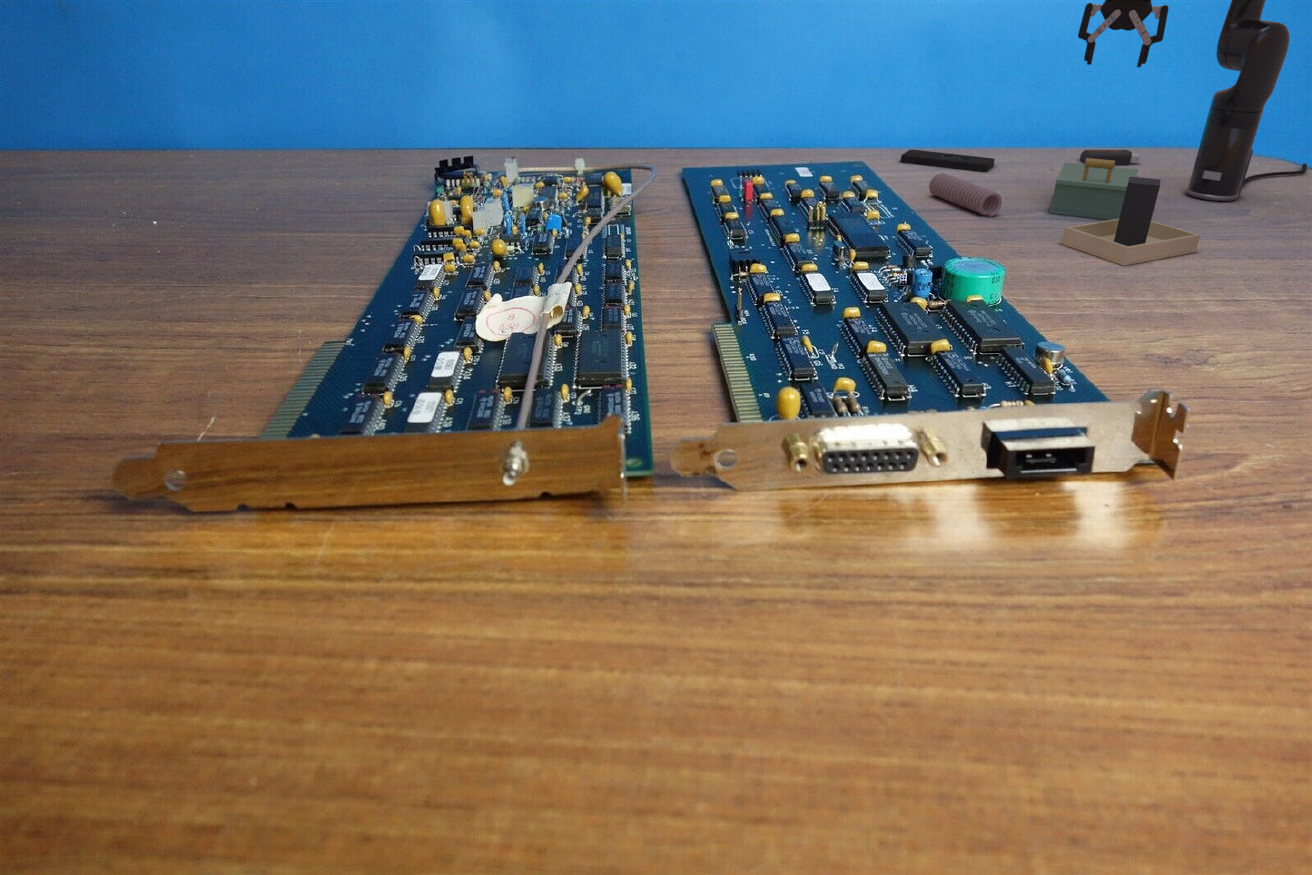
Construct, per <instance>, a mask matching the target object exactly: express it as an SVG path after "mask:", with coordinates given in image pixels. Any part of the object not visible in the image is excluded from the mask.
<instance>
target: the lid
mask: <svg viewBox="0 0 1312 875" xmlns="http://www.w3.org/2000/svg"><path fill="white" fill-rule="evenodd" d="M1114 164H1115V161H1114V160H1103V159H1092V158H1086V161H1085V163H1075V162H1064V163H1063V165H1062V167H1061V169H1060V171H1059V174H1058V176H1057V177H1056V179H1055V185H1056V184H1063V185H1072V186H1082V187H1092V188H1102V189H1111V190H1121V191H1126V189H1127V185H1128V181H1129V177H1138V171H1139V169H1138V168H1129V167H1128V168H1127V167H1117V166H1115V165H1114Z"/></svg>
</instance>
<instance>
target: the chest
mask: <svg viewBox="0 0 1312 875" xmlns="http://www.w3.org/2000/svg"><path fill="white" fill-rule="evenodd" d="M1125 193H1126V191H1121V190H1111V189H1102V188H1092V187H1082V186H1072V185H1063V184H1056V183H1055V185H1054V191H1053V196H1052V201H1051V205H1050V210H1049V214H1055V215H1064V216H1072V217H1081V218H1091V219H1098V220H1099V219H1100V220H1106V221H1107V220H1113V219H1119V218H1120V213H1121V209H1122V205H1123V201H1124V197H1125Z"/></svg>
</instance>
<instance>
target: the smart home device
mask: <svg viewBox="0 0 1312 875" xmlns="http://www.w3.org/2000/svg"><path fill="white" fill-rule="evenodd" d="M995 160H996V159H995V158H992V157H984V156H976V155H966V154H957V153H949V152H940V151H939V152H938V151H931V150H921V149H908V150H907V151H905V152H904V153H902V154H901V156H900V163H903V164H904V163H905V164H913V165H922V166H931V167H938V168H940V167H941V168H948V169H957V170H958V169H959V170H964V171H965V170H967V171H975V172H984V173H985V172H989V170H990V169H991V168H993V167H994V166H995Z"/></svg>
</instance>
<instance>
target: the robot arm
mask: <svg viewBox="0 0 1312 875" xmlns="http://www.w3.org/2000/svg"><path fill="white" fill-rule="evenodd" d="M1266 1H1267V0H1231V2H1230V5H1229V7H1228V10H1227V13H1226V16H1225V18H1224V21H1223V24H1222V27H1221V29H1220V33H1219V36H1218V40H1217V44H1216V53H1215V54H1216V61H1217V63H1218V65H1219V66H1220V67H1221V68H1223V69H1225V70H1229V71H1235V72H1239V75H1238V77H1237V79H1236V82H1235V83H1234V84H1233V85H1231V86H1230V87H1228V88H1226V89H1221V90H1218V91H1216V92H1215V93H1214V94H1213V96H1212V98H1211V102H1210V107H1209V109H1208V112H1207V117H1206V120H1205V124H1204V128H1203V132H1202V135H1201V139H1200V142H1199V145H1198V149H1197V152H1196V157H1195V161H1194V165H1193V168H1192V171H1191V175H1190V177H1189V181H1188V186H1187V188H1186V192H1185V193H1186V195H1188V196H1189V197H1193V198H1196V199H1200V200H1206V201H1214V202H1231V201H1236V200H1238V198H1239V197H1240V196H1241V193H1242V190H1243V188H1244V186H1246V184H1247V182H1249V181H1251V180H1255V179H1259V178H1266V177H1274V176H1295V175H1302V174H1304V173H1305V172H1307V169H1308V164H1307V163H1303V164H1302V165H1301V169H1300V170H1290V171H1289V170H1288V171H1273V172H1272V171H1271V172H1265V173H1258V174H1253V175H1249V176H1247V173H1248V170H1249V166H1250V163H1251V159H1252V156H1253V154H1254V150H1253V147H1254V142H1255V140H1256V135H1257V133H1258V129H1259V126H1260V123H1261V119H1262V115H1263V112H1264V110H1265V107H1266V104H1267V102H1268V101H1269V99H1270V98H1271V96H1272V94H1273V92H1274V90H1275V88H1276V85H1277V83H1278V80H1279V77H1280V74H1281V71H1282V68H1283V66H1284V63H1285V61H1286V57H1287V54H1288V51H1289V46H1290V38H1291V37H1290V31H1289V28H1288V27H1287V25H1285V24H1284V23H1282V22H1279V21H1271V20H1262V19H1261V18H1262V15H1263V11H1264V7H1265V4H1266ZM1169 10H1170V9H1169V5H1168V4H1163V5H1153V4H1152V0H1104V2H1103V3H1102V4H1099V3H1093V2H1088V3H1086V5H1085V7H1084V11H1083V15H1082V18H1081V21H1080V22H1081V23H1080V26H1079V30H1078V33H1077V37H1078V39H1081V40H1083V41H1085V42H1086V48H1085V52H1084V56H1083V60H1084V62H1086V65H1088V66H1091V65H1092V63H1093V58H1094V54H1095V49H1096V44H1097V42H1096V40H1097V39H1098V38H1099V37H1100V36H1101V35H1102V34H1103V33H1104V32H1105V31H1106V30H1107V29H1108V28H1109V29H1110V30H1111V31H1119V30H1123V31H1125V32H1126V31H1128V32H1129V31H1130V32H1131V31H1134V30H1136V31H1137V34H1138V36H1139V37H1140V39H1141V41H1142V42H1143V44H1142V45H1141V48H1140V51H1139V56H1138V60H1137V64H1136V68H1142V65H1145V64H1146V63H1147V62H1148V57H1149V53H1150V49H1151V46H1152V45H1154V44H1156V43H1160V42H1162V41H1163V40H1164V36H1165V32H1166V31H1165V29H1166V25H1167V19H1168V13H1169ZM1099 11H1100V13H1101V15H1102V18H1103V19H1104V20H1103V22H1102V23H1101V24H1100V25H1099V26H1098V27H1096V29H1095V30H1094V31H1093V32H1092V33H1091V32H1088V27H1089V24H1090V21H1091V17H1094V16H1096V14H1097V13H1098V12H1099ZM1152 13H1153V14H1154V18H1155V19H1156V20H1158V23H1157V29H1156V34H1154V35H1150V32H1148V29H1147V27H1146V25H1145V23H1144V21H1145V20H1146V19H1147V18H1148V17H1149V16H1150V15H1151V14H1152ZM1246 176H1247V177H1246Z"/></svg>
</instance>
